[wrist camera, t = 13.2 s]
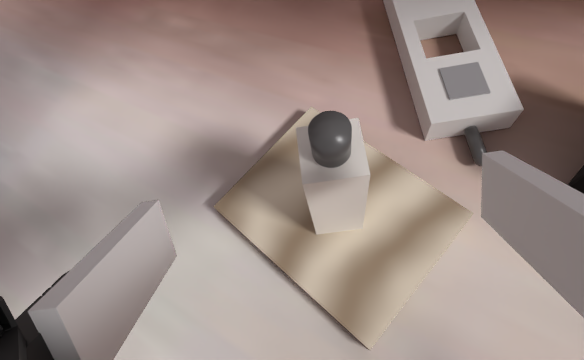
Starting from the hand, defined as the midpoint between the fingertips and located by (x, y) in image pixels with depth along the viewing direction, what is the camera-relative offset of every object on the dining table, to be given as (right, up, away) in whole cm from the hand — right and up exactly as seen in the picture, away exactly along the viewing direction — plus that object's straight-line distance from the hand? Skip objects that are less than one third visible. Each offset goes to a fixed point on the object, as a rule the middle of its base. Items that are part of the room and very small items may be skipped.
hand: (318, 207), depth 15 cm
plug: (+3, -1, +17) cm, 17 cm away
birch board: (+3, -2, +19) cm, 19 cm away
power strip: (+15, +13, +23) cm, 31 cm away
